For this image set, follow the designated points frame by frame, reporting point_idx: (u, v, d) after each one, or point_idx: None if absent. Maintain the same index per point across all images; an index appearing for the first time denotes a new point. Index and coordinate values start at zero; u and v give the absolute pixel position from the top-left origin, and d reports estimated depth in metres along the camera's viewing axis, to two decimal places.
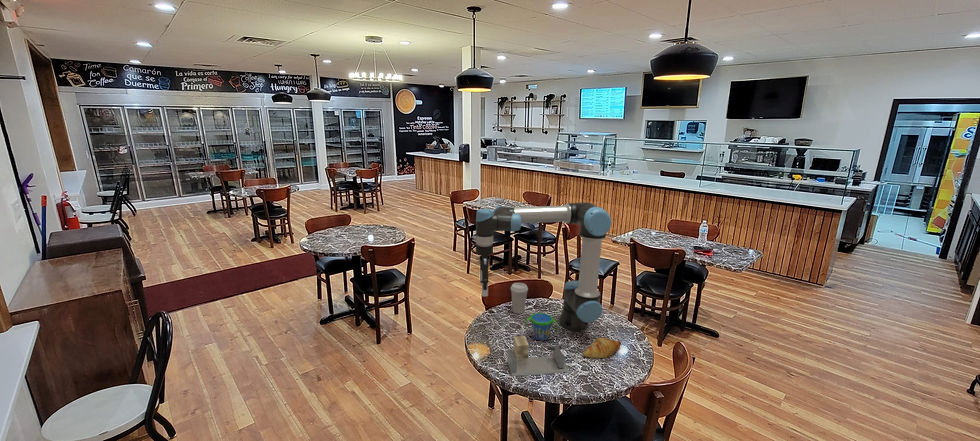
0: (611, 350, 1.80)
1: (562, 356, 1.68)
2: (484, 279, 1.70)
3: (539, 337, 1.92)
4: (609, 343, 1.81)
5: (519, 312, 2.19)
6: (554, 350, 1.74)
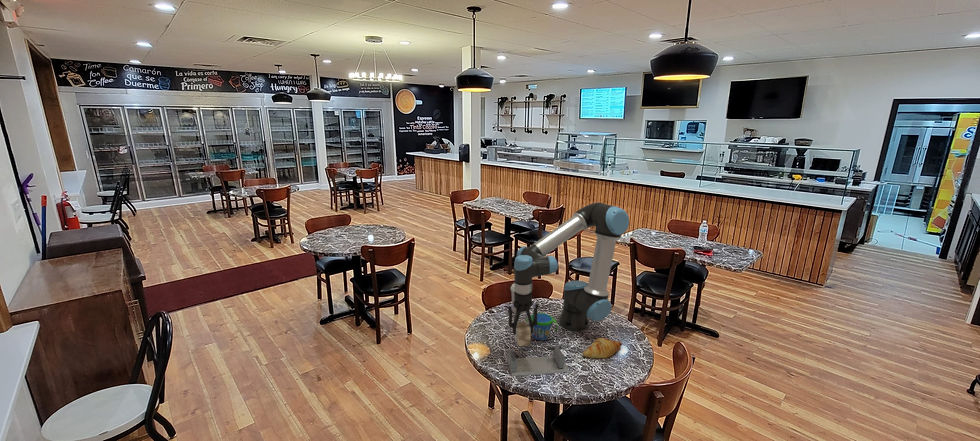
0: (611, 351, 1.79)
1: (562, 356, 1.68)
2: (508, 322, 1.77)
3: (539, 337, 1.92)
4: (609, 343, 1.80)
5: None
6: (554, 350, 1.74)
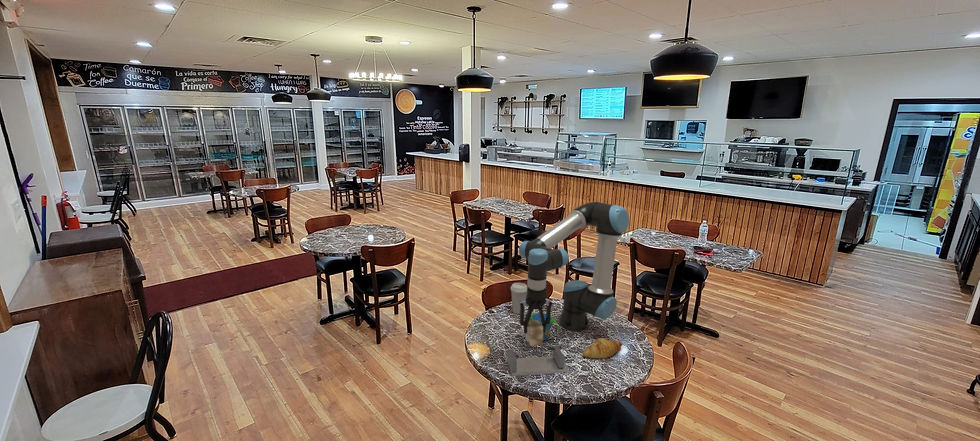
0: (611, 351, 1.79)
1: (562, 356, 1.68)
2: (520, 320, 1.66)
3: None
4: (609, 344, 1.80)
5: (519, 312, 2.19)
6: (554, 350, 1.74)
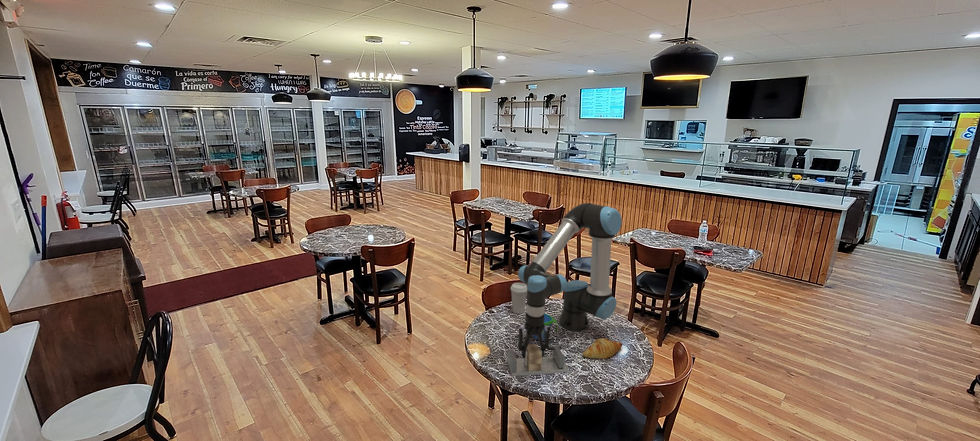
0: (611, 351, 1.79)
1: (562, 356, 1.68)
2: (518, 345, 1.69)
3: None
4: (609, 344, 1.80)
5: (519, 312, 2.19)
6: (554, 350, 1.74)
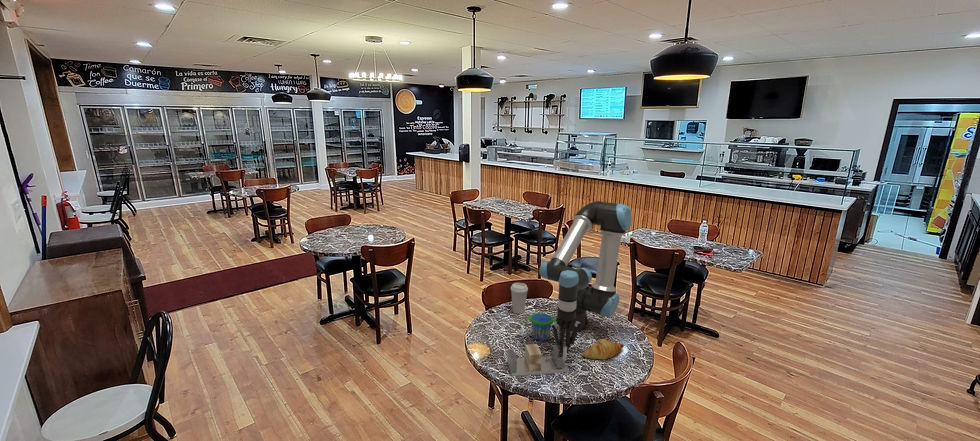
0: (611, 352, 1.78)
1: (560, 356, 1.68)
2: (555, 341, 1.71)
3: (539, 337, 1.92)
4: (610, 345, 1.79)
5: (519, 312, 2.19)
6: (553, 350, 1.74)
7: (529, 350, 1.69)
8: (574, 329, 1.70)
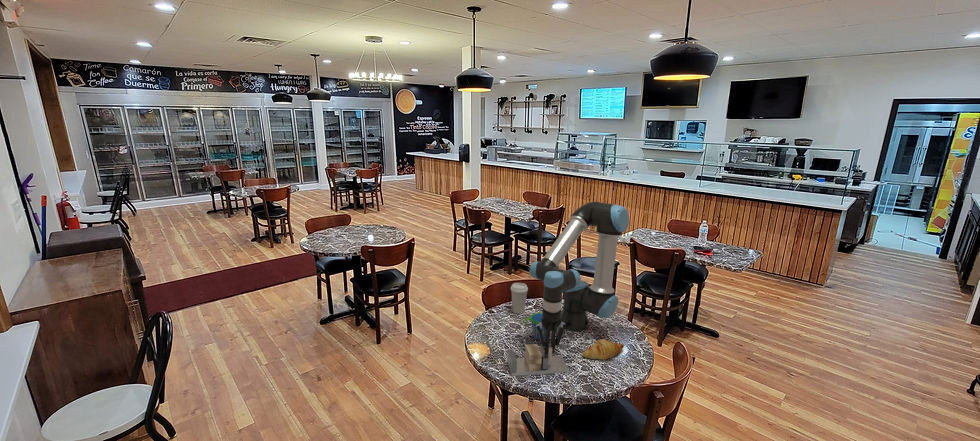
0: (611, 352, 1.78)
1: (546, 357, 1.67)
2: None
3: (539, 337, 1.92)
4: (610, 345, 1.79)
5: (519, 312, 2.19)
6: None
7: (529, 350, 1.69)
8: (559, 330, 1.69)
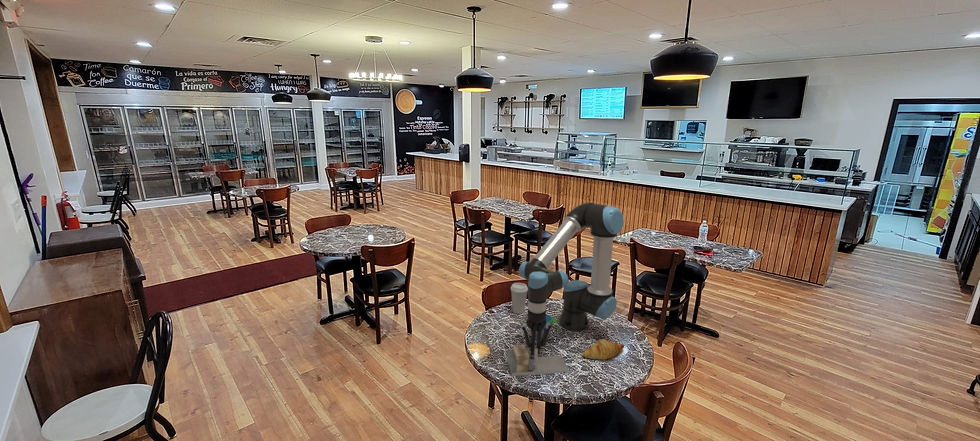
0: (611, 352, 1.78)
1: (531, 358, 1.66)
2: (526, 343, 1.69)
3: None
4: (610, 345, 1.79)
5: (519, 312, 2.19)
6: None
7: (516, 351, 1.68)
8: (545, 331, 1.68)
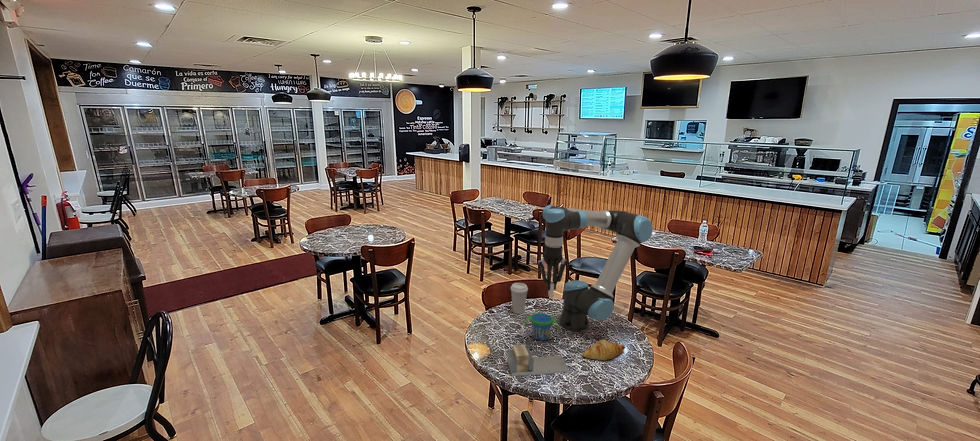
0: (611, 353, 1.77)
1: (531, 358, 1.66)
2: None
3: (539, 337, 1.92)
4: (610, 346, 1.79)
5: (519, 312, 2.19)
6: None
7: (516, 351, 1.68)
8: (561, 266, 1.75)
